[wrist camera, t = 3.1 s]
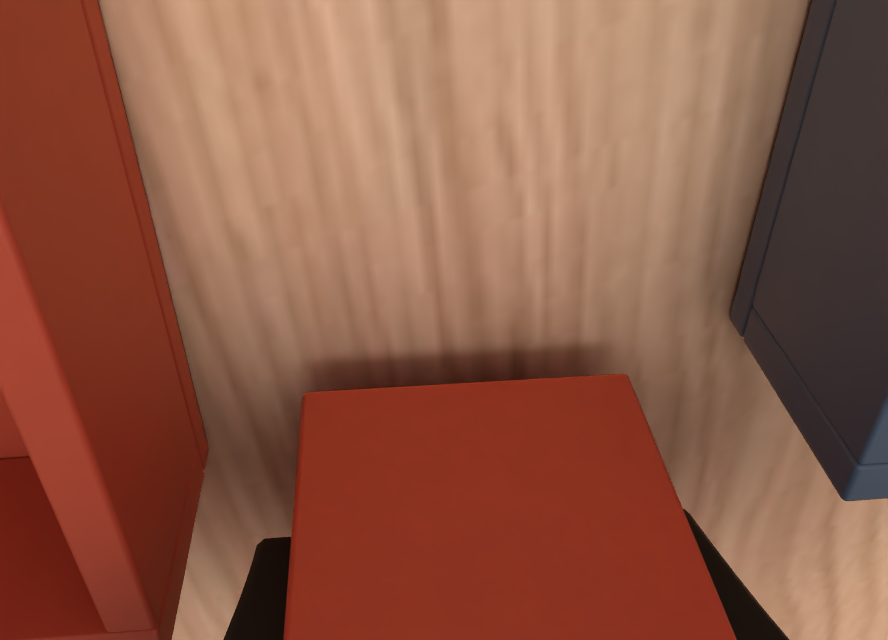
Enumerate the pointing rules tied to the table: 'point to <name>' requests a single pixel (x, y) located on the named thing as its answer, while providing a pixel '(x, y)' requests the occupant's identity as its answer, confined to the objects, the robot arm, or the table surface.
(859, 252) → the blue bin
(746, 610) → the robot arm
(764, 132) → the table surface
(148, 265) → the red bin
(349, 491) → the red block
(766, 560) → the table surface
